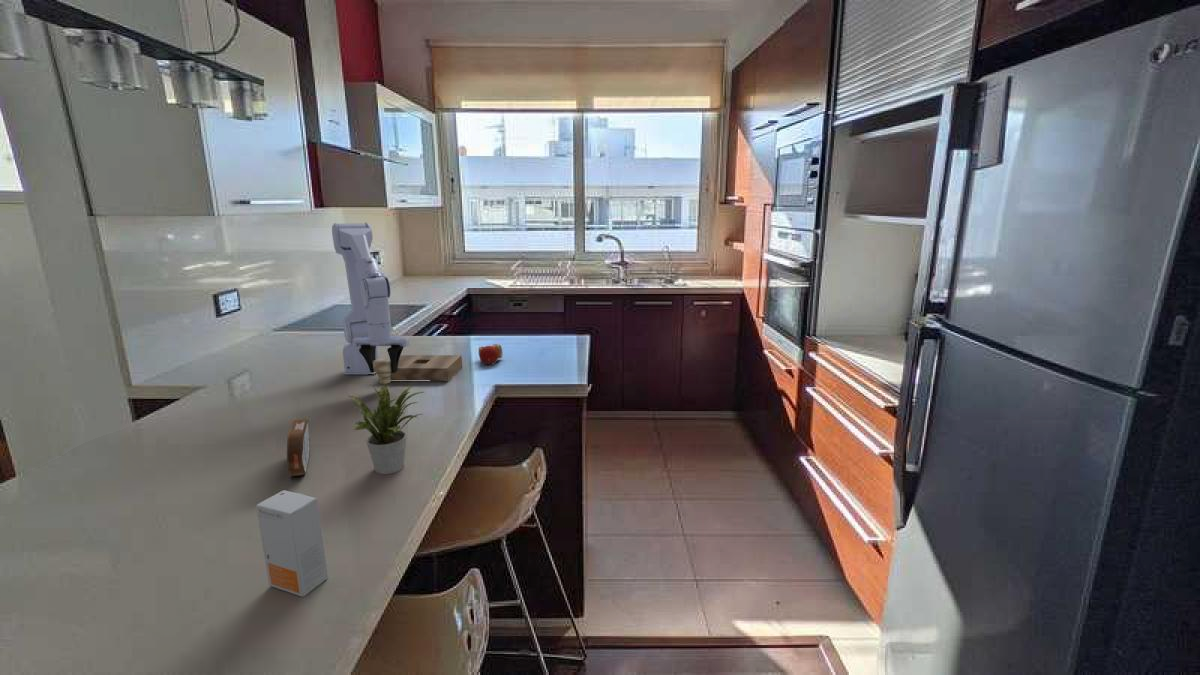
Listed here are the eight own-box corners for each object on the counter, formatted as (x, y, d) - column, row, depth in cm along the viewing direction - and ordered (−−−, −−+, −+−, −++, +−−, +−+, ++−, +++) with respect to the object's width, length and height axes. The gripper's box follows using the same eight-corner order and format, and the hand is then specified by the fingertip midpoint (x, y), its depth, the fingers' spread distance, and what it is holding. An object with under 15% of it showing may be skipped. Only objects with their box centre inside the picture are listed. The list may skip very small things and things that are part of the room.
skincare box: (268, 587, 71) (253, 504, 68) (296, 567, 75) (284, 488, 72) (302, 599, 69) (289, 513, 66) (330, 578, 73) (318, 496, 70)
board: (379, 381, 155) (377, 368, 155) (398, 367, 169) (397, 355, 168) (448, 381, 155) (447, 368, 154) (462, 367, 168) (461, 355, 167)
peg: (371, 385, 146) (369, 363, 144) (379, 379, 151) (377, 358, 149) (390, 385, 145) (388, 363, 144) (398, 379, 150) (396, 358, 149)
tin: (297, 452, 111) (291, 413, 109) (314, 449, 112) (309, 410, 110) (288, 485, 97) (281, 441, 95) (308, 482, 98) (301, 438, 97)
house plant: (447, 468, 103) (441, 386, 99) (375, 495, 93) (365, 406, 90) (412, 446, 113) (405, 370, 109) (343, 468, 103) (332, 386, 99)
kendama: (482, 356, 187) (473, 363, 169) (485, 338, 186) (476, 343, 168) (504, 360, 187) (498, 367, 169) (507, 341, 187) (501, 347, 169)
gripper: (344, 325, 141) (350, 376, 144) (399, 325, 140) (404, 376, 143) (357, 320, 147) (363, 368, 151) (410, 320, 147) (414, 368, 150)
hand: (384, 371), depth 147 cm, fingers closed on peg, 5 cm apart
